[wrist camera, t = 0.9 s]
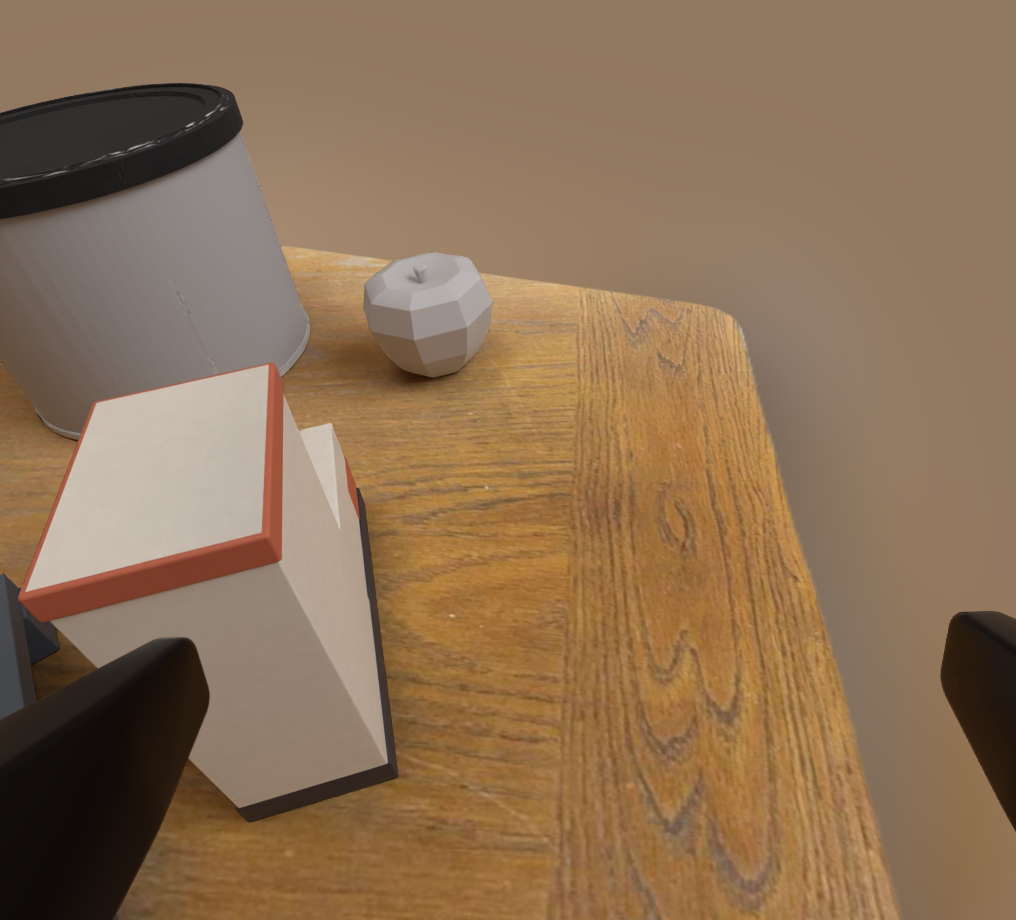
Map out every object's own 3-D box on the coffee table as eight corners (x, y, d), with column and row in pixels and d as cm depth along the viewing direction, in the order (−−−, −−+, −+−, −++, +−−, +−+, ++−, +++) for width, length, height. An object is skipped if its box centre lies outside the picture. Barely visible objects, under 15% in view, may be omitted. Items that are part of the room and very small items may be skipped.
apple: (363, 400, 40) (333, 304, 35) (392, 331, 45) (369, 241, 41) (493, 397, 39) (479, 297, 34) (506, 327, 44) (495, 233, 40)
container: (179, 473, 36) (15, 205, 26) (-28, 413, 43) (-221, 182, 33) (363, 306, 49) (299, 79, 39) (179, 280, 55) (84, 81, 45)
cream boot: (399, 780, 23) (268, 536, 14) (248, 826, 22) (14, 600, 13) (364, 502, 33) (277, 262, 24) (261, 528, 33) (134, 291, 24)
